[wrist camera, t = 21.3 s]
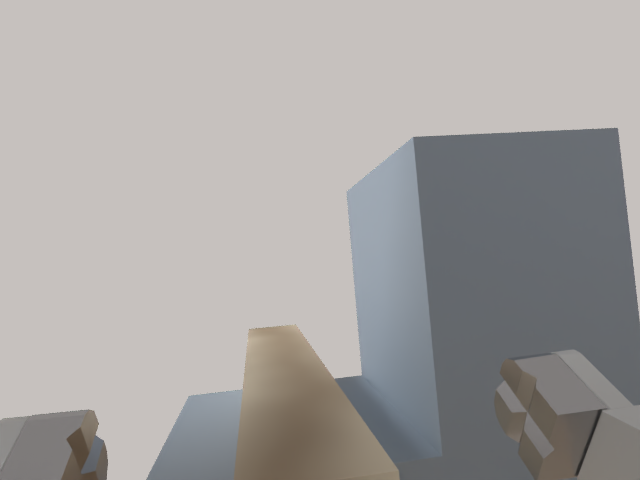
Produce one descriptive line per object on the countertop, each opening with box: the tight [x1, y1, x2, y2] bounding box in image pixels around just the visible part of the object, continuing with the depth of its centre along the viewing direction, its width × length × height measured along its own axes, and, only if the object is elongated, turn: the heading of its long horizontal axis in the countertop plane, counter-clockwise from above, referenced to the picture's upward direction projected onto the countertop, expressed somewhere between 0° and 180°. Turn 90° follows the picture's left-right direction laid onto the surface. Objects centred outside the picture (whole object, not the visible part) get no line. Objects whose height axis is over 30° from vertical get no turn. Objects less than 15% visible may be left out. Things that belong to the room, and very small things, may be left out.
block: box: [234, 325, 400, 480], centre depth 19 cm, size 3×22×3 cm, turn 8°
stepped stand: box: [146, 128, 640, 480], centre depth 22 cm, size 18×12×26 cm, turn 98°
